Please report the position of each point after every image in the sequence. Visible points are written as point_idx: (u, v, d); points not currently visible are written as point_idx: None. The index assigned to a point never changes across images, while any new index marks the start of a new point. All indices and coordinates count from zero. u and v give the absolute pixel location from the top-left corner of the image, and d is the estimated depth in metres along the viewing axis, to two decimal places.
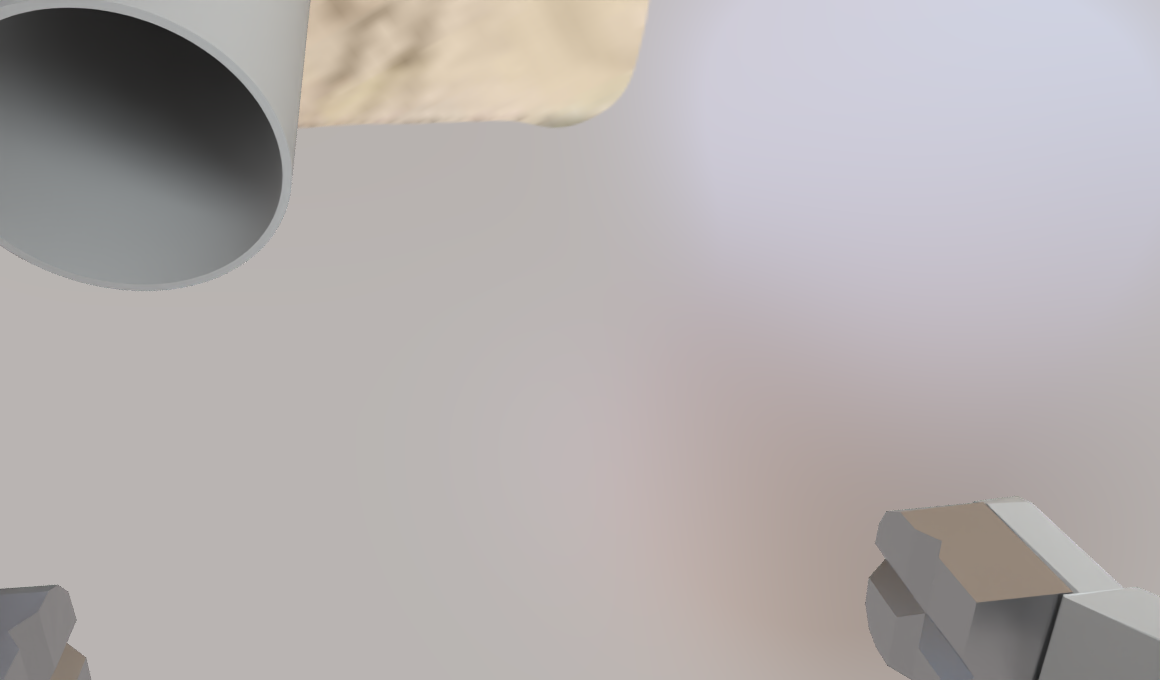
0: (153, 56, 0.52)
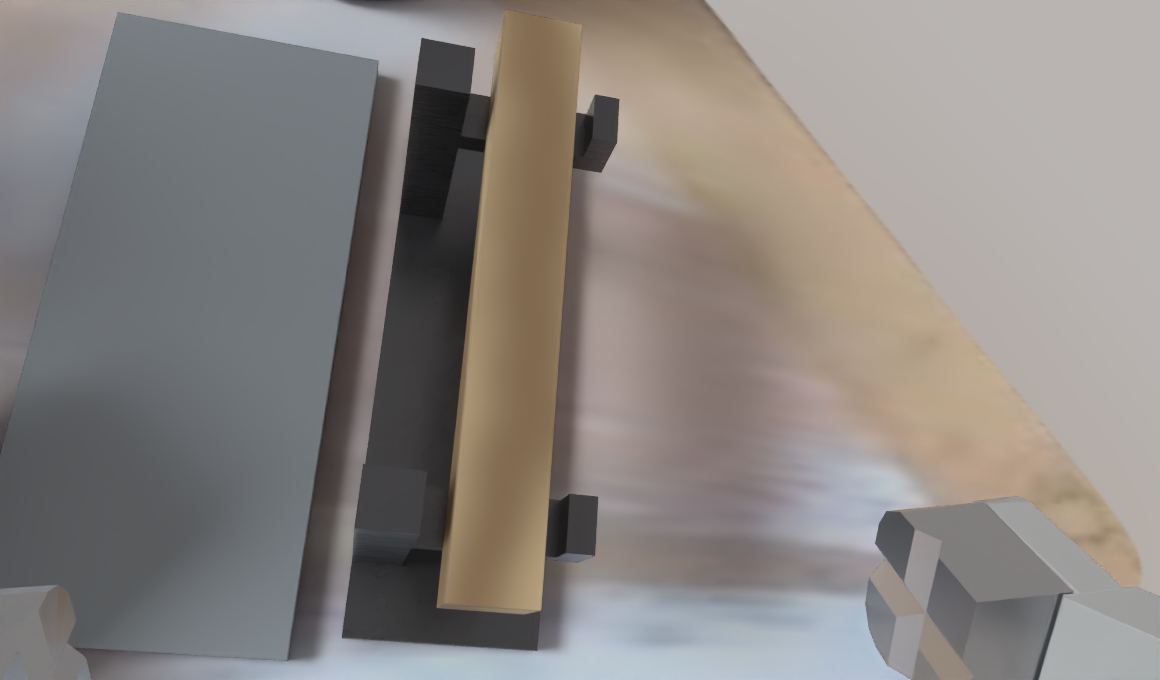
0: None
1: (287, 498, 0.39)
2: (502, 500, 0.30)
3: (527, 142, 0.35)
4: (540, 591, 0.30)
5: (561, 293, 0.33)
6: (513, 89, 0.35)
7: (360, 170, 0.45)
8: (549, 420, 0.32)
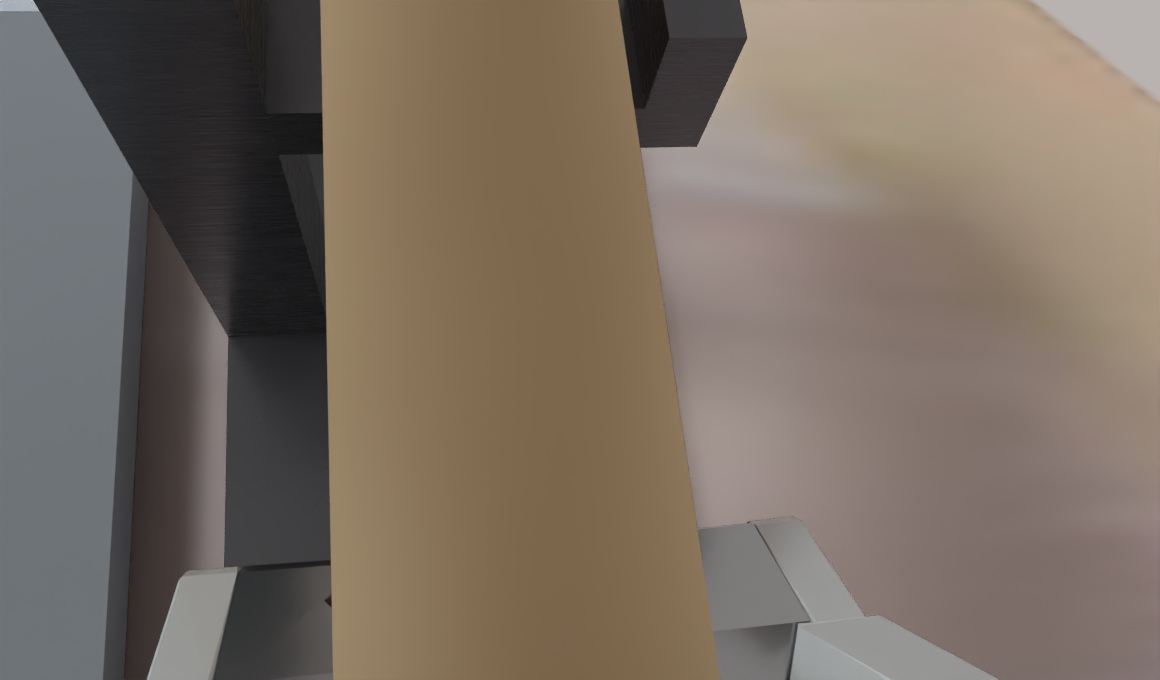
0: None
1: None
2: None
3: (454, 71, 0.09)
4: None
5: (710, 671, 0.08)
6: None
7: (125, 257, 0.19)
8: None
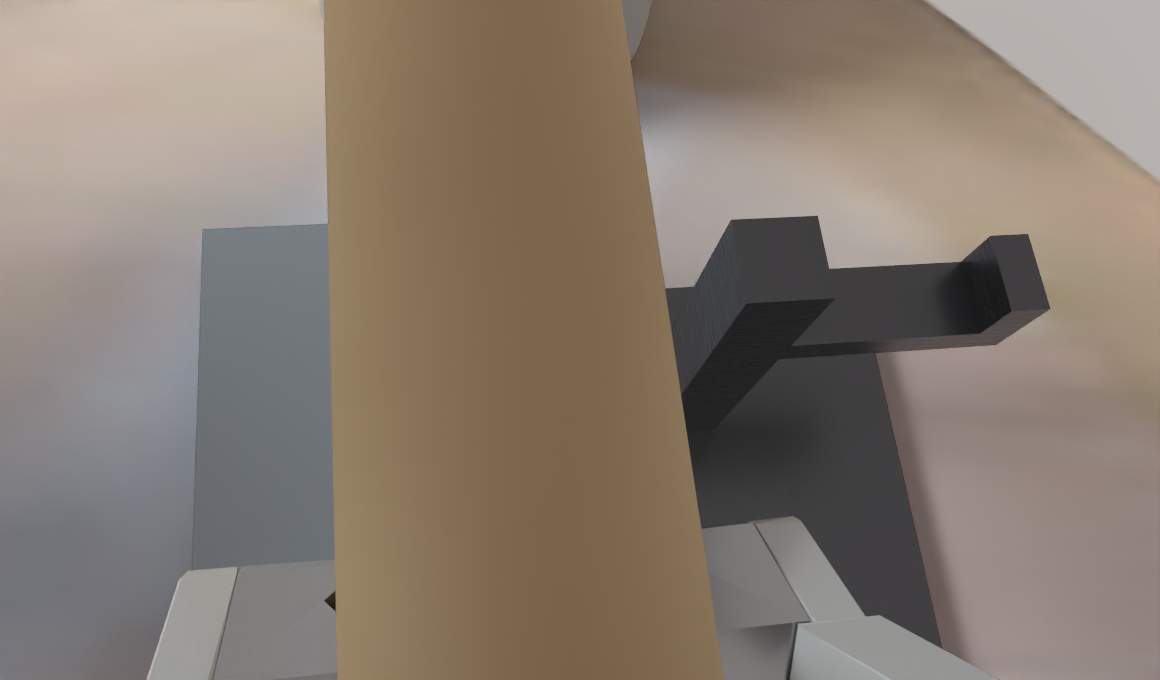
0: None
1: None
2: None
3: (456, 72, 0.09)
4: None
5: (714, 673, 0.08)
6: None
7: None
8: None
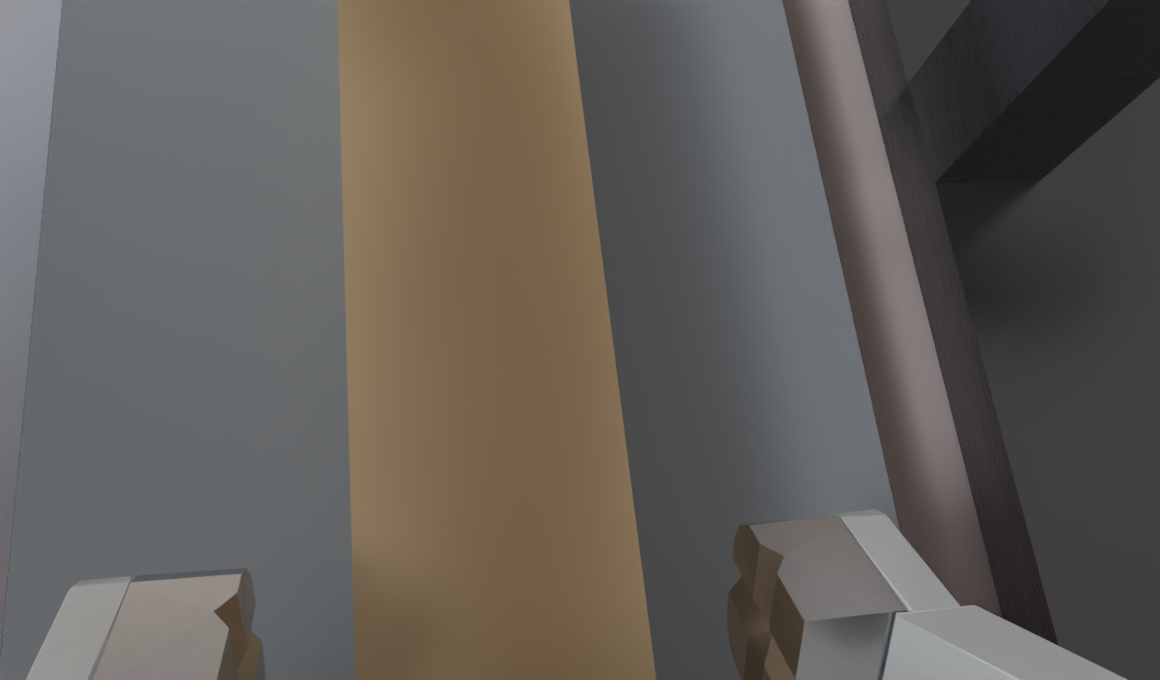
0: None
1: None
2: None
3: (449, 189, 0.11)
4: None
5: (649, 679, 0.10)
6: (385, 43, 0.12)
7: (799, 90, 0.16)
8: None
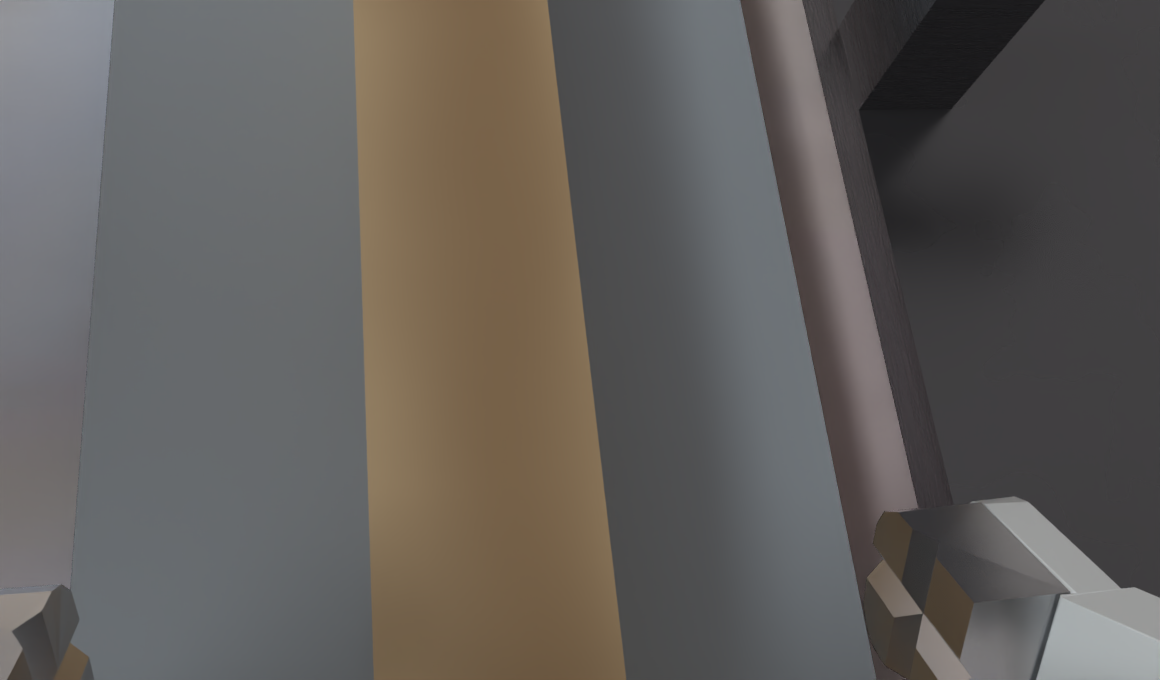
0: None
1: None
2: None
3: (441, 91, 0.14)
4: None
5: (595, 459, 0.12)
6: None
7: (744, 32, 0.19)
8: None
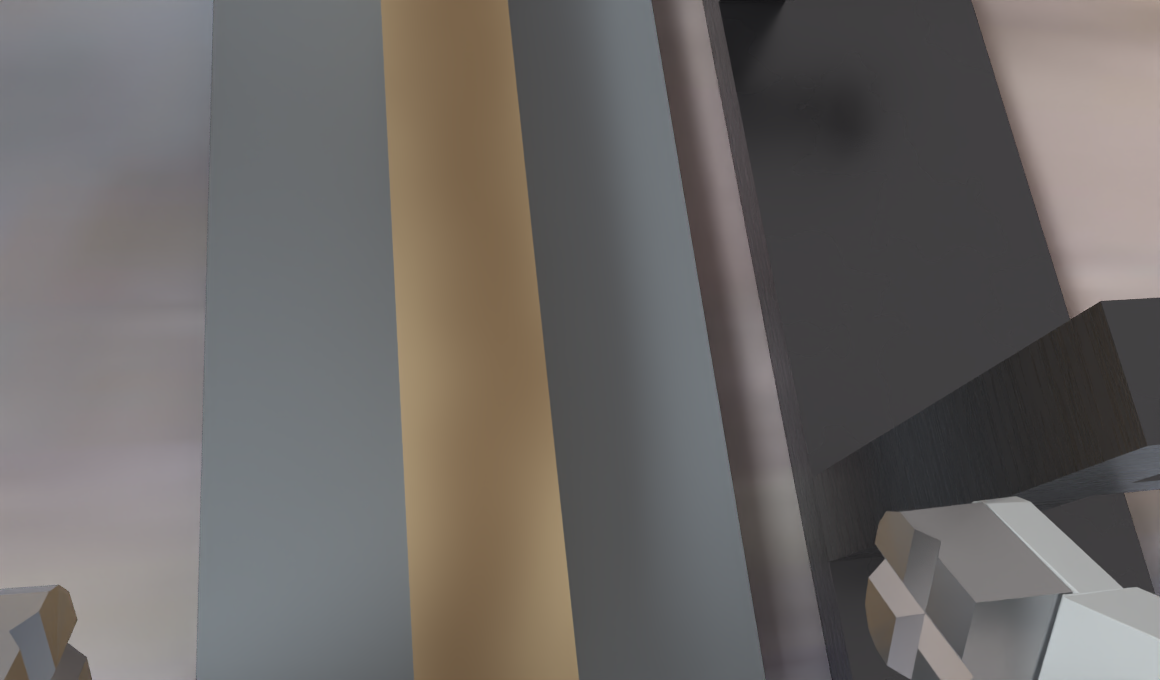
0: None
1: (692, 473, 0.22)
2: (483, 512, 0.18)
3: None
4: (572, 651, 0.18)
5: (523, 177, 0.21)
6: None
7: None
8: (538, 372, 0.20)
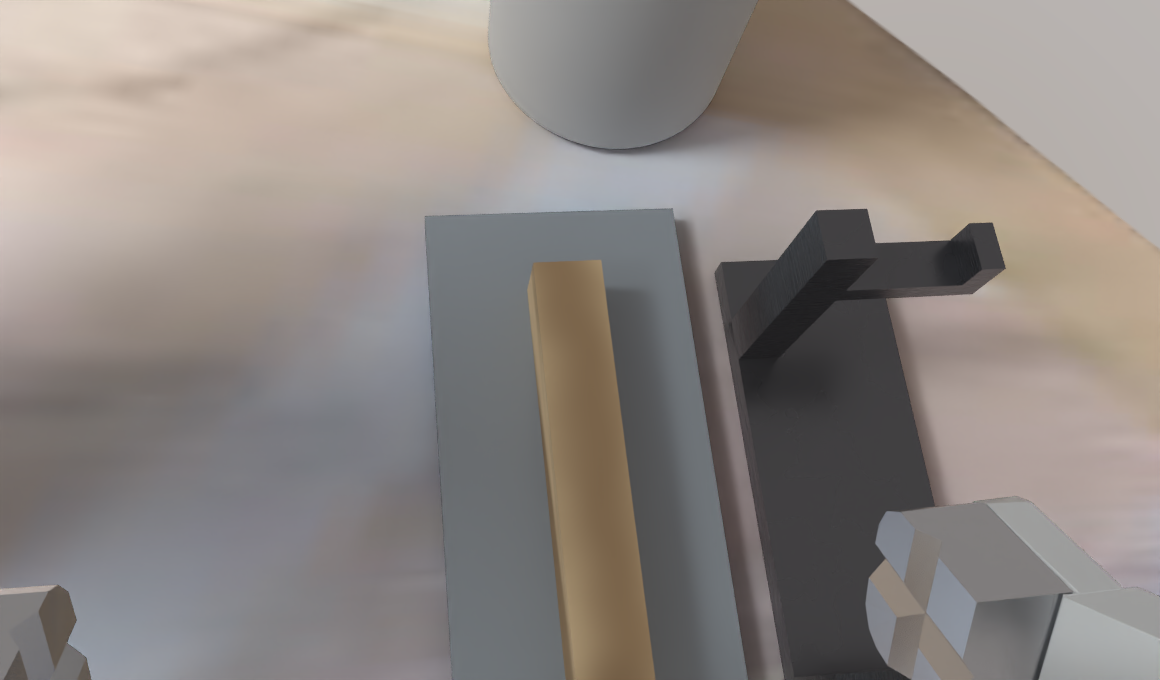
0: None
1: (725, 676, 0.39)
2: None
3: (575, 382, 0.39)
4: None
5: (632, 517, 0.38)
6: (554, 335, 0.40)
7: (690, 324, 0.44)
8: (645, 637, 0.36)
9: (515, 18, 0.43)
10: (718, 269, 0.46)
